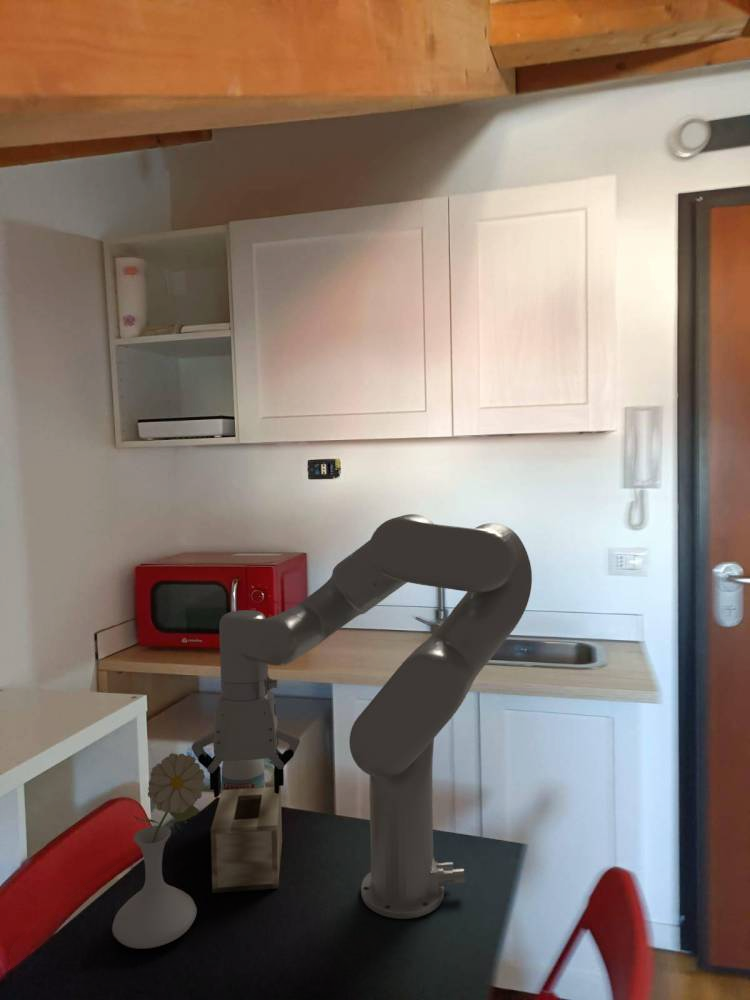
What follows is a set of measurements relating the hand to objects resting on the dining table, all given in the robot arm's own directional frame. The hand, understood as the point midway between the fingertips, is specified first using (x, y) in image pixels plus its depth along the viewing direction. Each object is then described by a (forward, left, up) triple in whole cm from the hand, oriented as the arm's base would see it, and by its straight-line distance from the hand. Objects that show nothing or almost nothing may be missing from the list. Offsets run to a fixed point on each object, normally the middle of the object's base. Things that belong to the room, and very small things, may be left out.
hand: (247, 791), depth 111 cm
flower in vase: (+11, +14, -13) cm, 22 cm away
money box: (0, 0, -12) cm, 12 cm away
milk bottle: (+2, -12, -13) cm, 18 cm away
